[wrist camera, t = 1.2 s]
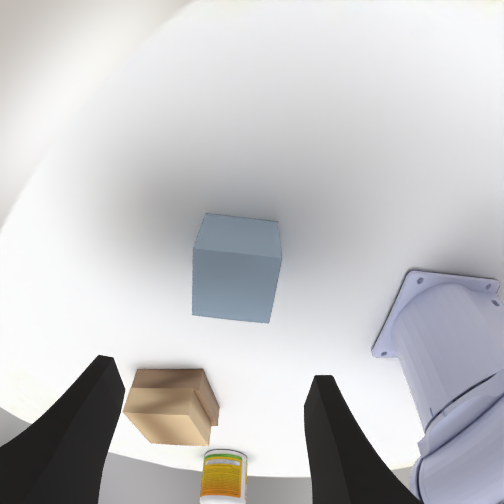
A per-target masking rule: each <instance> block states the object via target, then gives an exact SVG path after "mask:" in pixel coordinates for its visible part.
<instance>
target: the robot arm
mask: <svg viewBox="0 0 504 504" xmlns="http://www.w3.org/2000/svg"><path fill="white" fill-rule="evenodd" d="M419 278H421V279H420V280H418V279H419ZM417 280H418V281H417ZM499 287H500V283H499V281H498V280H493V279H484V278H475V277H466V276H457V275H448V274H439V273H430V272H421V271H412V272H410V273H409V274H408V275H407V276H406V278H405V281H404V283H403V286H402V288H401V290H400V292H399V295H398V297H397V299H396V302H395V304H394V306H393V308H392V310H391V313H390V315H389V317H388V319H387V321H386V323H385V325H384V327H383V329H382V331H381V334H380V336H379V338H378V340H377V342H376V344H375V345H374V347H373V349H372V355H373V357H376V358H388V357H398V358H399V361H400V363H401V366H402V369H403V371H404V374H405V377H406V380H407V382H408V385H409V388H410V391H411V394H412V396H413V399H414V402H415V405H416V408H417V411H418V414H419V417H420V420H421V423H422V426H423V430H424V433H425V436H424V438H423V439H422V440H420V441H419V442H418V447H419V450H420V454H421V456H420V457H419V458H418V459H417V461H416V462H415V464H414V465H413V468H412V470H411V475H410V482H409V489H410V491H409V490H408V489H407V488H406V487H405V486H404V485H403V484H402V483H401V482H400V481H399V480H398V478H397V477H396V476H395V475H394V474H393V473H392V472H391V470H390V469H389V468H388V467H387V466H386V464H385V463H384V462H383V461H382V459H381V458H380V457H379V455H378V454H377V453H376V451H375V450H374V448H373V447H372V445H371V444H370V442H369V441H368V439H367V438H366V436H365V435H364V433H363V432H362V430H361V428H360V427H359V425H358V423H357V422H356V420H355V418H354V417H353V415H352V413H351V411H350V409H349V407H348V406H347V404H346V402H345V400H344V398H343V396H342V394H341V392H340V390H339V388H338V386H337V384H336V381H335V379H334V377H333V376H332V375H315V376H314V379H313V382H312V385H311V388H310V390H309V393H308V396H307V399H306V402H305V404H304V427H305V437H306V444H307V451H308V458H309V465H310V472H311V479H312V494H313V504H504V303H503V302H502V301H501V299H500V298H499V297H498V296H497V294H496V293H497V291H498V289H499ZM124 394H125V387H124V385H123V382H122V380H121V377H120V374H119V372H118V369H117V366H116V364H115V361H114V358H113V357H108V356H102V355H98V356H97V357H96V358H95V359H94V360H93V362H92V363H91V364H90V365H89V366H88V367H87V368H86V370H85V371H84V372H83V373H82V374H81V375H80V376H79V378H78V379H77V380H76V381H75V382H74V383H73V384H72V385H71V386H70V388H69V389H68V390H67V391H66V392H65V393H64V394H63V395H62V396H61V397H60V398H59V399H58V400H57V401H56V402H55V403H54V404H53V405H52V406H51V407H50V408H49V409H48V410H47V411H46V412H45V413H44V414H43V415H42V416H41V417H40V418H39V419H38V420H36V421H35V422H34V423H33V424H32V425H31V426H29V427H28V428H27V429H26V430H24V431H23V432H22V433H20V434H19V435H18V436H16V437H15V438H14V439H12V440H11V441H10V442H8V443H6V444H4V445H3V446H1V447H0V504H98V498H99V490H100V483H101V477H102V471H103V467H104V463H105V459H106V456H107V453H108V449H109V446H110V443H111V440H112V437H113V434H114V431H115V428H116V425H117V422H118V419H119V416H120V413H121V408H122V404H123V399H124Z"/></svg>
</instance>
